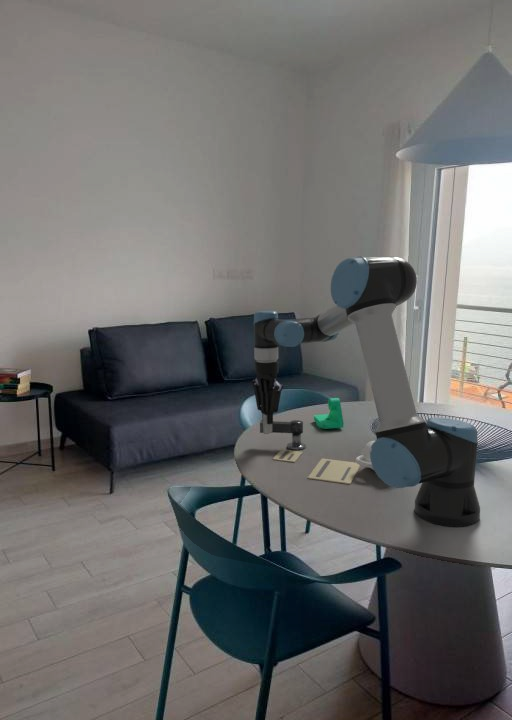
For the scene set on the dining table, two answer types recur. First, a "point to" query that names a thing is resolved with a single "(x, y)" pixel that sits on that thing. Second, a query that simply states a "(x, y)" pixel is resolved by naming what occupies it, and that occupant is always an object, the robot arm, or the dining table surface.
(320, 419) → the camera mount
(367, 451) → the mug
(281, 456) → the label card
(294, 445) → the grey mushroom knob
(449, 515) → the robot arm
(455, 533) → the dining table surface
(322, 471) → the label card
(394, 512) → the dining table surface
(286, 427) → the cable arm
